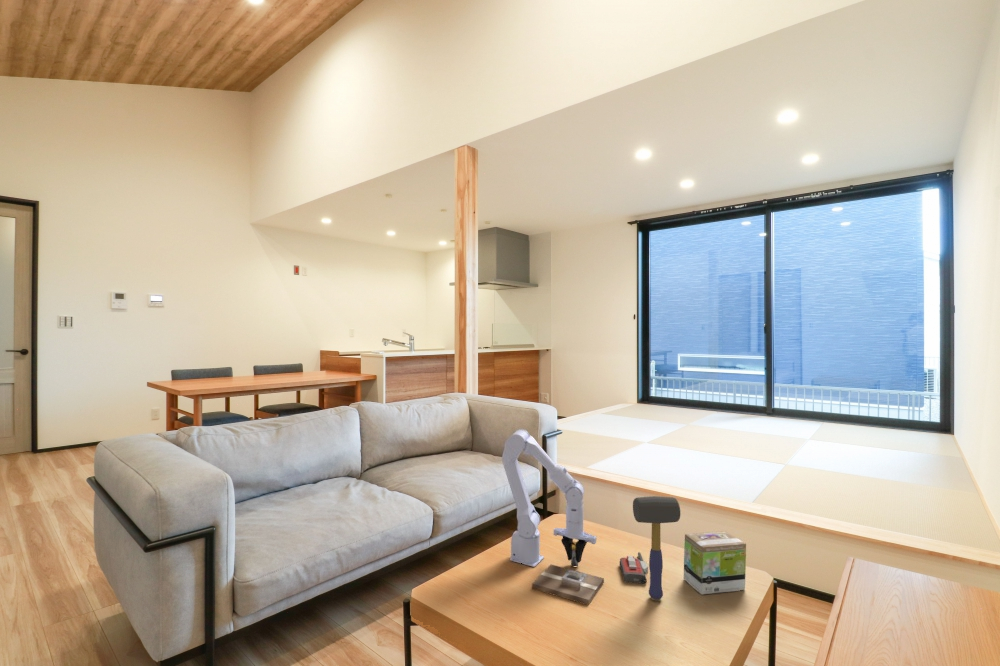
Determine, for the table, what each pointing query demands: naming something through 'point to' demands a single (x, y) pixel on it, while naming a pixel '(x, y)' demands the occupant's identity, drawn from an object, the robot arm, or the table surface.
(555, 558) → the table surface
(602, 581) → the board
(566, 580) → the pilot socket
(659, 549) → the rubber mallet
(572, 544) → the gold-capped cylinder
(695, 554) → the tea box
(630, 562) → the walkie-talkie
